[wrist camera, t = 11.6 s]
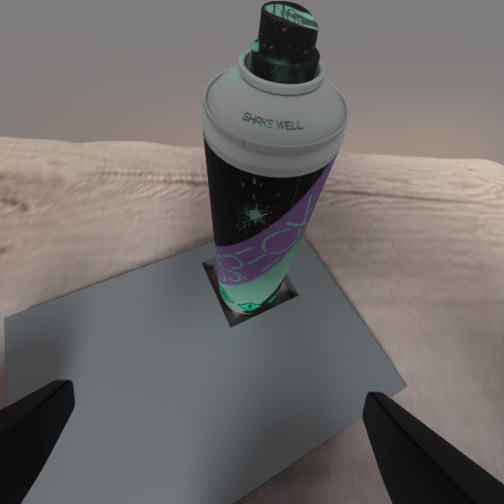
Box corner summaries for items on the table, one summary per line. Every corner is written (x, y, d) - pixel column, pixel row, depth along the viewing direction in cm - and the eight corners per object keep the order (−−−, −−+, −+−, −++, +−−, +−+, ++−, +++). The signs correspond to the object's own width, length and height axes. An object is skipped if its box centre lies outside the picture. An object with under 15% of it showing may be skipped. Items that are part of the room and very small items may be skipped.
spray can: (209, 275, 25) (161, -16, 8) (259, 253, 26) (312, -29, 9) (235, 326, 22) (251, 77, 5) (288, 298, 24) (431, 39, 7)
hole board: (396, 386, 21) (407, 385, 20) (35, 628, 14) (14, 651, 13) (285, 222, 29) (288, 213, 27) (17, 323, 22) (4, 318, 20)
